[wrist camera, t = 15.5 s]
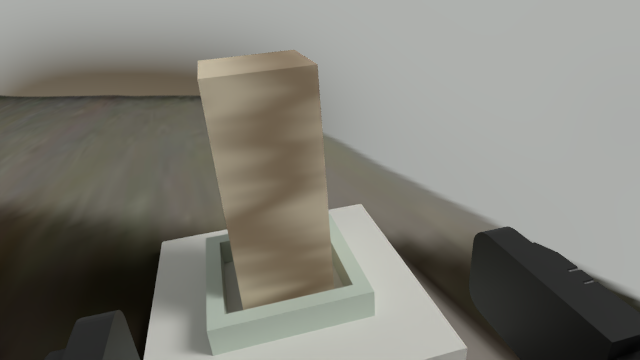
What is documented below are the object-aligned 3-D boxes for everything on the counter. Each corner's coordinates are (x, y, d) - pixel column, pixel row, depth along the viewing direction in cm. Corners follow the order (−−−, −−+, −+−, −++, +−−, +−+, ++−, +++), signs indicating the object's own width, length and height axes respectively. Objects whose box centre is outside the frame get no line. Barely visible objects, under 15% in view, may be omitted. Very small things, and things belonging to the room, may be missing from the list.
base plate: (137, 457, 16) (119, 414, 15) (165, 254, 28) (157, 222, 27) (465, 364, 19) (469, 322, 18) (361, 215, 31) (360, 185, 30)
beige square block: (245, 323, 21) (197, 79, 16) (238, 268, 25) (198, 60, 20) (335, 301, 22) (317, 64, 16) (313, 252, 26) (294, 49, 21)
